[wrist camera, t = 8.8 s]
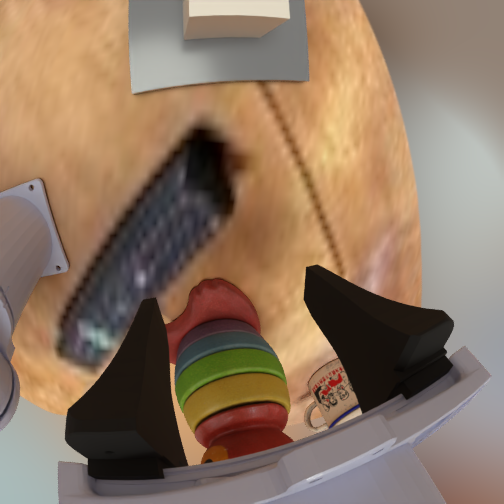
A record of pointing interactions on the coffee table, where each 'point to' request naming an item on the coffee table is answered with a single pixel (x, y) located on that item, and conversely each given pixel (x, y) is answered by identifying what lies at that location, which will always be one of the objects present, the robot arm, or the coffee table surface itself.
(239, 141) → the coffee table surface
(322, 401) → the teacup with lid
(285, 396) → the stacking bear
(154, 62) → the plate
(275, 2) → the block
